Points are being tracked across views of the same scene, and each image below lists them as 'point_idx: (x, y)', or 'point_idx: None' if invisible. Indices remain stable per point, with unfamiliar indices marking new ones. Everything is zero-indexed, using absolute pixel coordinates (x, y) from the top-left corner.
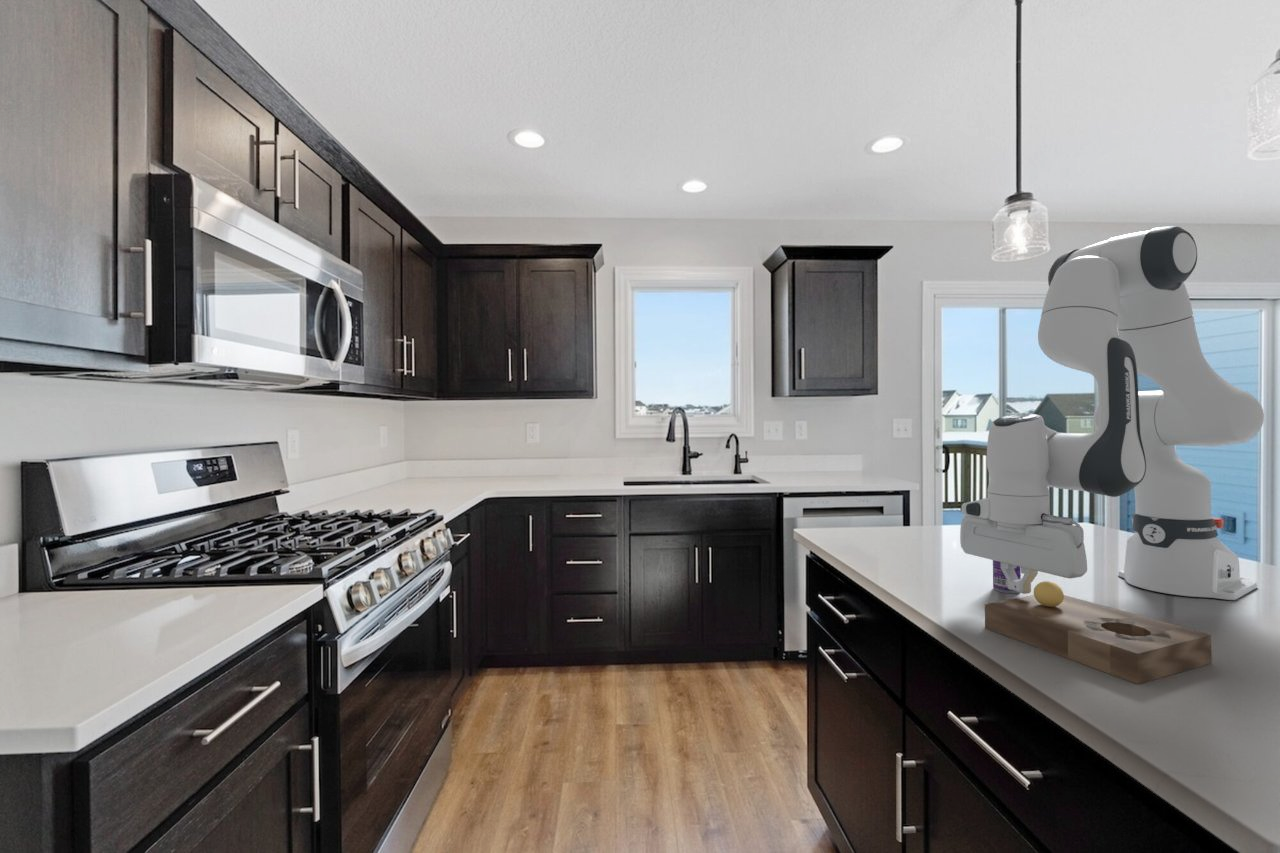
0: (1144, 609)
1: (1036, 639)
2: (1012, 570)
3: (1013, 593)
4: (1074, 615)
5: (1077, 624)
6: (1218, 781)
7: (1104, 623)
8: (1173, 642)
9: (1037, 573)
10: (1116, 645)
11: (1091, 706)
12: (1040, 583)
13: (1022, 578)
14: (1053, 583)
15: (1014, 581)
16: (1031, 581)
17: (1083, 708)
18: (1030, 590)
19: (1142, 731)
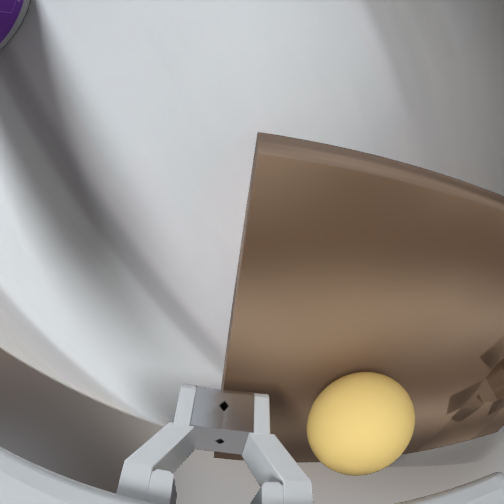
0: None
1: None
2: (165, 465)
3: (23, 18)
4: (429, 390)
5: (434, 423)
6: (485, 451)
7: (487, 373)
8: None
9: (310, 483)
10: (479, 435)
11: (429, 455)
12: (342, 473)
13: (257, 478)
14: (390, 462)
15: (213, 450)
16: (277, 443)
17: (422, 461)
18: (268, 400)
19: (460, 450)
